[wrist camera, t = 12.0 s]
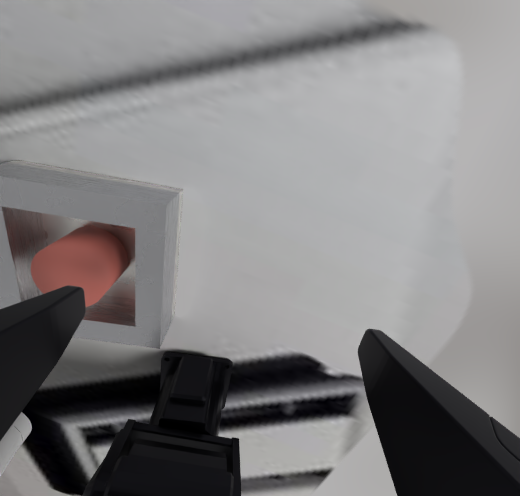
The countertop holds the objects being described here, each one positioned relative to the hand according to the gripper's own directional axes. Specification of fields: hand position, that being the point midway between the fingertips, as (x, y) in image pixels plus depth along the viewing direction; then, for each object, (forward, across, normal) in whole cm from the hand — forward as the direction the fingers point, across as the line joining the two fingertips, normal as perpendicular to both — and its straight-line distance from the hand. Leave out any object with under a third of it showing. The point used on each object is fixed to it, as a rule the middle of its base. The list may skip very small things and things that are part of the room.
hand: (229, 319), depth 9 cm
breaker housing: (+12, +10, +5) cm, 17 cm away
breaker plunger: (+11, +10, +5) cm, 16 cm away
